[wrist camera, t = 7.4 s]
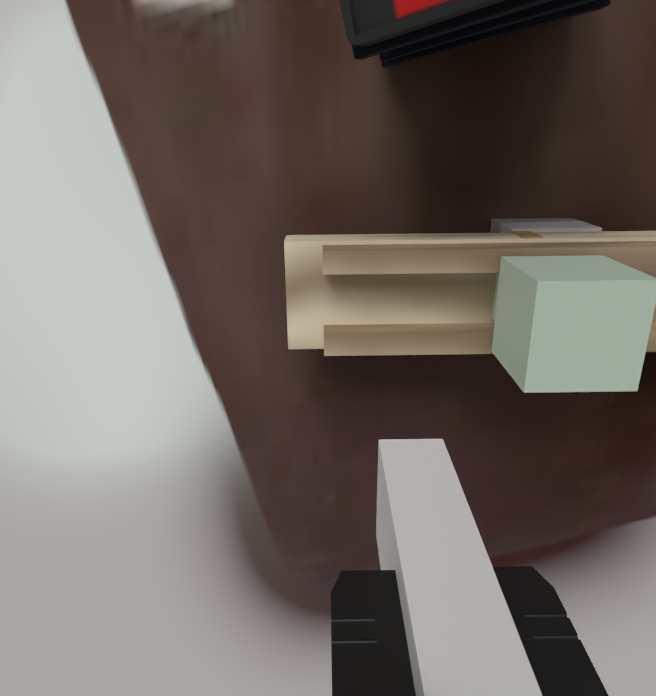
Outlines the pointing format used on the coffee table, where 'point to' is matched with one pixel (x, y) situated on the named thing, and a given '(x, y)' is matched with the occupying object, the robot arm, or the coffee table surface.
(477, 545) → the robot arm
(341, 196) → the coffee table surface
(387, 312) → the beam
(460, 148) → the coffee table surface
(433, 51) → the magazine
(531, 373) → the block
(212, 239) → the coffee table surface
